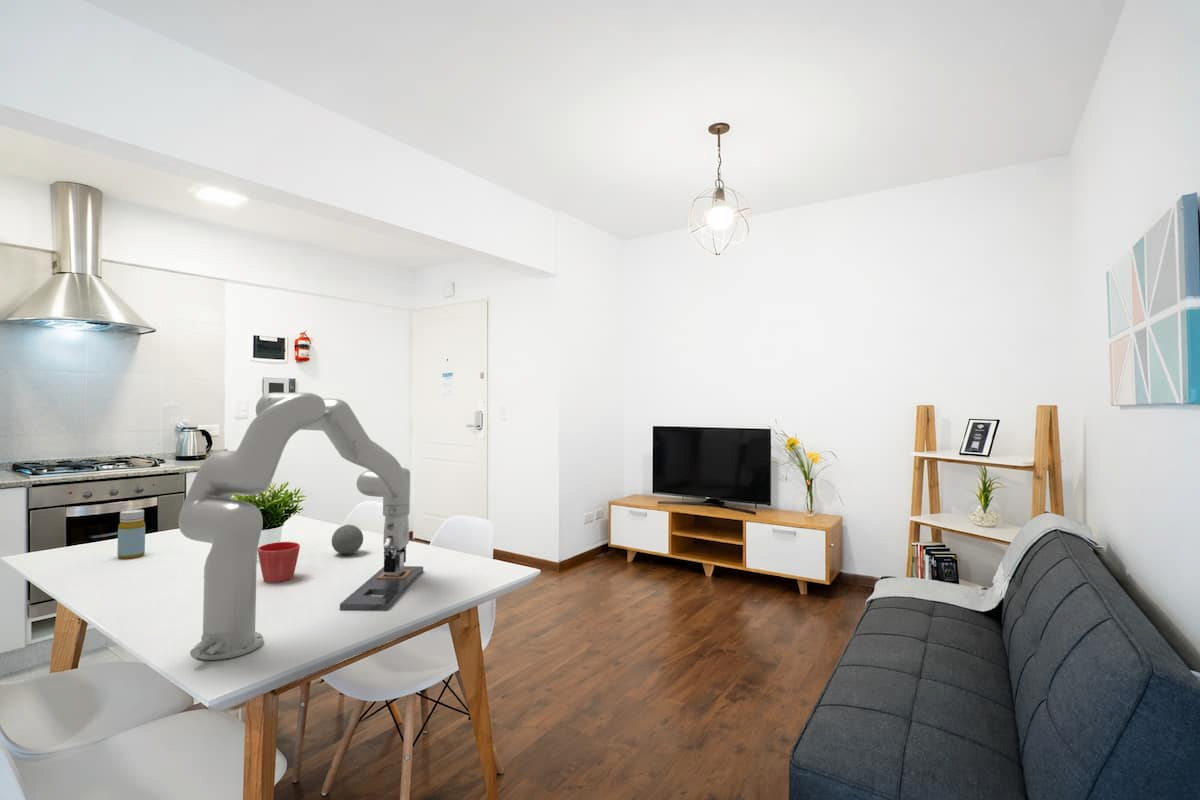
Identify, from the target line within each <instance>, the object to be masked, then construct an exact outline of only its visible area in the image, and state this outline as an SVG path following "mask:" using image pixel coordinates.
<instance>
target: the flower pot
mask: <svg viewBox="0 0 1200 800" xmlns="http://www.w3.org/2000/svg"><path fill="white" fill-rule="evenodd" d="M300 548H301V544H300V543H299V542H295V541H280V542H279V541H277V542H270V543H266V544H263V545H261V546H258V550H257V556H258V560H259V565H260V570H261V574H262V579H263V581H264V582H265V581H266V582H265V583H269V582H275V583H280V582H279V581H281V582H286V581H285V580H287V581H290V580H291V578H292V579H293V578H294V577H295V571H296V567H297V563H298V558H299V554H300V550H301V549H300ZM289 579H290V580H289Z"/></svg>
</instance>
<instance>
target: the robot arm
mask: <svg viewBox="0 0 1200 800" xmlns="http://www.w3.org/2000/svg"><path fill="white" fill-rule="evenodd" d="M255 413H256V414H255V415H256V417H255V418H254V419H252V421H251V422H250V424H249V425H248V426H247V427H248V428H247V429H246V431H245V434H244V435H243V438H242V440H241V441H240V444H239V446H238V447H237V449H236V450H220V451H216V452H215V453H212V454H211V455H210V456H209V457H207V458H205V460H204V461H203V462H202V464H201V465H200V467H199V468H198V470H197V472H196V474H195V476H194V479H193V481H192V483H191V486H190V488H189V490H188V492H187V495H186V498H184V499H185V500H184V502H183V504H182V507H181V509H180V512H179V516H178V528H179V531H180V532H181V534H182V535H183V536H184V537H185V538H186V539H189V540H192V541H196V542H202V543H208V544H211V548H210V551H209V553H208V555H207V557H206V560H205V562H204V563H205V564H204V568H203V612H202V618H203V619H202V620H203V621H202V635H201V640H200V642H198V643H197V644H196V645H195V646H194V647H193V648H192V649H191V650H190V652H189V654H190V657H191V658H193V659H199V660H204V661H219V660H226V659H227V658H228V659H232V658H236V657H240V656H243V655H246V654H250V652H251V653H252V652H254V651H255V650H257V649H259V648H260V647H261V646H262V645H263V643H264V635H263V634H262V633H259V632H256V613H257V611H256V609H257V608H256V605H257V563H258V562H257V561H258V560H257V559H258V548H259V544H260V538H261V535H262V531H263V525H264V523H263V521H264V519H263V514H262V512H261V510H260V509H259V508H258V507H257V506H256V505H254V504H253V503H251V502H249V501H245V500H240V499H232V497H233V495H242V496H256V495H261V494H262V493H264V492H266V491H267V490H268V488H269V487H270V485H271V484H272V483H271V482H272V480H273V478H274V475H275V473H276V470H277V468H278V465H279V462H280V460H281V457H282V454H283V452H284V450H285V448H286V445H287V443H288V441H290V439H291V437H293V436H294V434H296V433H297V432H299V431H300V430H302V431H319V432H320V431H321V432H324V434H325V435H326V436H327V438H328V439H329V441H330V442H331V443H332V445H333V447H334V448H335V450H336V451H337V453H338V454H339V455H340V457H341V458H343V459H344V460H346V461H347V462H350V463H351V464H355V465H357V466H360V467H361V468H365V469H367V470H365V471H364V472H361V474H359V476H358V477H357V480H356V488H357V490H358V491H359V493H361V494H362V495H364V496H368V497H369V496H370V497H378V498H379V497H380V498H382V516H383V517H384V526H383V550H384V551H383V567H384V572H395V571H396V558H395V553H396V552H404V564H405V563H406V561H407V560H406V559H407V557H406V556H407V555H406V554H407V545H409V543H410V525H409V523H410V522H409V515H410V508H411V507H410V498H411V472H410V470H409V469H408V468H407V467H402V465H401V464H400V462H399V460H398V459H397V458H396V457H395V456H393V454H391V453H390V452H389V451H387V450H386V449H384V448H383V447H382V446H381V445H379V444H378V443H377V442H374V441H373V440H372V439H371V438H370V437H369V435H368V434H367V432H366V430H365V429H364V427H363V426H362V424H361V423H360V421H359V419H358V417H357V416H356V414H355V412H353V409H352V408H351V406H350V405H349V404H348V403H347V402H346V401H344V400H342V399H338V398H322V397H321V396H319V395H318V394H316V393H311V392H269V393H266V394H264V395H262V396H261V397H260V398H259V400H258V401H257V403H256V405H255ZM391 551H393V553H392V552H391Z"/></svg>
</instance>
